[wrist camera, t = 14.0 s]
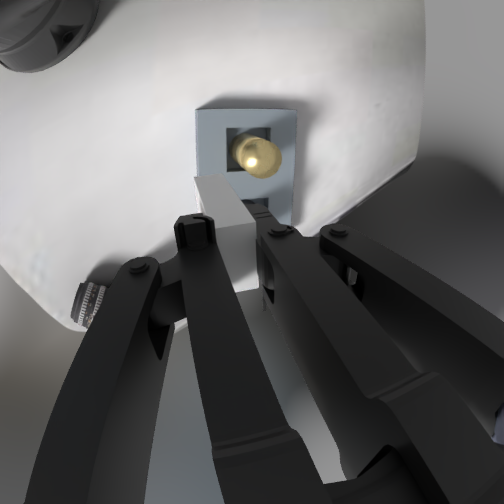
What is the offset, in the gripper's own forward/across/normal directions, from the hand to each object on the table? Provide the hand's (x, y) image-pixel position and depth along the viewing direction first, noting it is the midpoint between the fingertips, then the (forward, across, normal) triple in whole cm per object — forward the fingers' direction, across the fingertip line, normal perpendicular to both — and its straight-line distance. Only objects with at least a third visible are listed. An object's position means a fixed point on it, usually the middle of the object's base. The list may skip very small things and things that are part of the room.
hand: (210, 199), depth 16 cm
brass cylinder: (+22, +7, -2) cm, 23 cm away
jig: (+22, +7, -6) cm, 24 cm away
